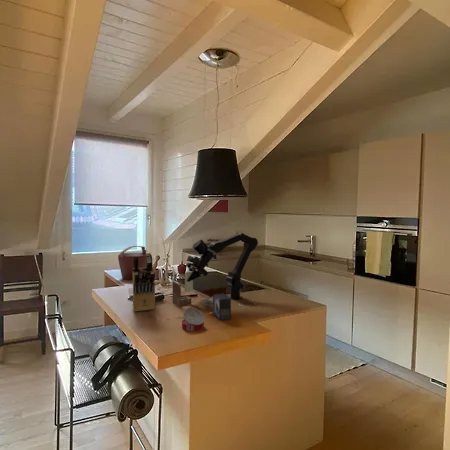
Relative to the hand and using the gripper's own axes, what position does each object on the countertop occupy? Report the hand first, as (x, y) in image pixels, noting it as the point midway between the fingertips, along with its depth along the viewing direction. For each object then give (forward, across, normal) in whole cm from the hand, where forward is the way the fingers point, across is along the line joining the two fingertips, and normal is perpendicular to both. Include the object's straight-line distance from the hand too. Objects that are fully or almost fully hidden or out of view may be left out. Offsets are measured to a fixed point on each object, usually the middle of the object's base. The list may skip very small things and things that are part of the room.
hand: (186, 280), depth 185 cm
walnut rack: (+11, 0, +8) cm, 14 cm away
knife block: (+25, -7, -6) cm, 27 cm away
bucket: (+15, -86, +5) cm, 88 cm away
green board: (+3, 0, +5) cm, 6 cm away
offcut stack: (+5, +12, +14) cm, 19 cm away
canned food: (+18, +35, +2) cm, 39 cm away
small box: (+5, +27, +15) cm, 31 cm away
